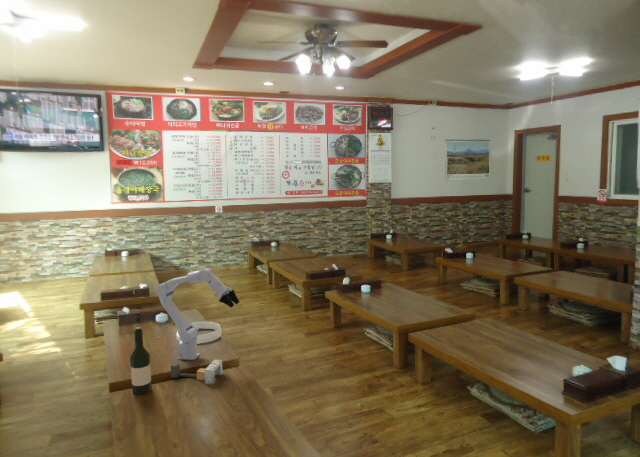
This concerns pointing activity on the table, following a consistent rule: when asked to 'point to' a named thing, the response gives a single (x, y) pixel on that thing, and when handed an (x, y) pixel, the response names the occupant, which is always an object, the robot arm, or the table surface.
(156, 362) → the table surface
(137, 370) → the wine bottle
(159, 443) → the table surface
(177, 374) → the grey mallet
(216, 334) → the white ring
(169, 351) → the table surface
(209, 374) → the grey stone bridge block
